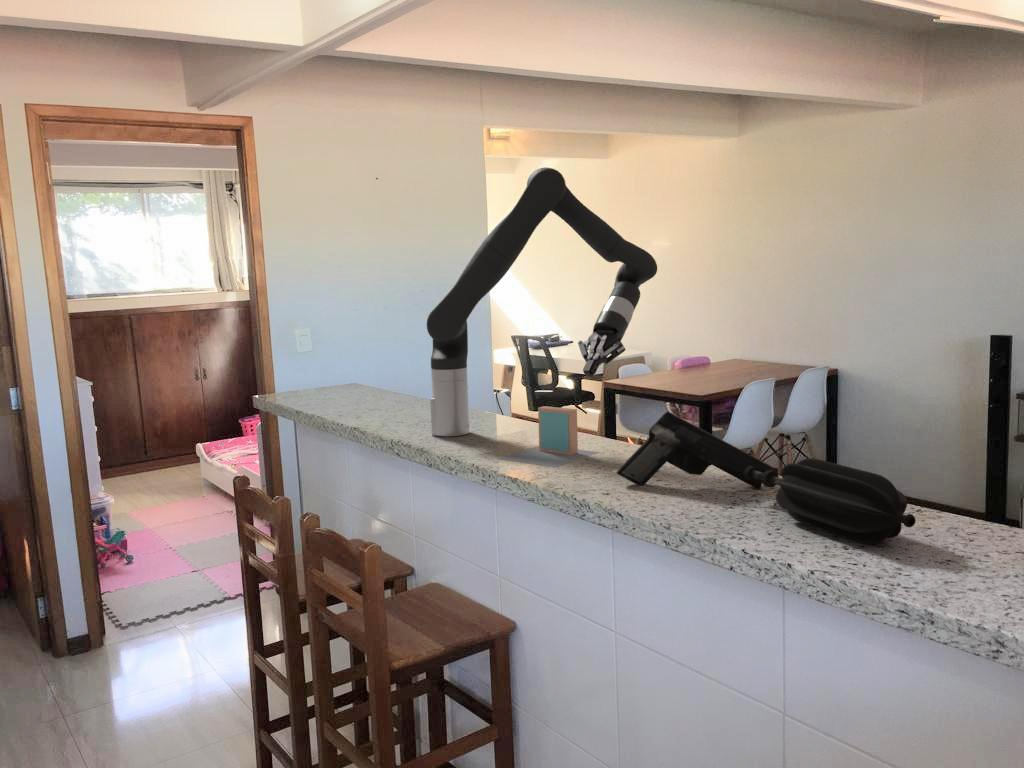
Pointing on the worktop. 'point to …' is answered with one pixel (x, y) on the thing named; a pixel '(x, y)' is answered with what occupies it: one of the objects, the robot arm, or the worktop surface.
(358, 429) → the worktop surface
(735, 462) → the handgun
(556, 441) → the tile
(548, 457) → the mat
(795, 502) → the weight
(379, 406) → the worktop surface
